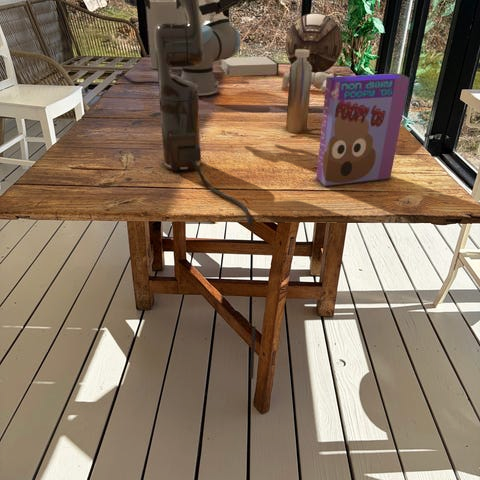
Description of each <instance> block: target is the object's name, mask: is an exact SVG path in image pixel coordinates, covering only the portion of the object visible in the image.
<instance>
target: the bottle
mask: <svg viewBox="0 0 480 480" xmlns="http://www.w3.org/2000/svg"><path fill="white" fill-rule="evenodd" d="M306 60H307V57H297V60H296V61H295V62H294V63H293V64H290V66H289V73H290V74H289V84H288V91H287V106H286V123H285V130H286V132H288V133H293V134H302V133H306V132H307V130H308V121H309V110H310V98H311V88H312V87H311V86H312V85H311V77H312V66H311V65H310V64H309V63H308V61H306Z"/></svg>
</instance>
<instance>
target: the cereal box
mask: <svg viewBox="0 0 480 480" xmlns="http://www.w3.org/2000/svg"><path fill="white" fill-rule="evenodd" d="M340 76H341V77H337V76H334V77H327V80H326V90H325V92H324V100H323V108H322V109H323V110H322V120H321V129H320V130H321V132H320V139H319V140H320V141H319V147H318V148H319V149H318V156H317V157H318V158H317V167H316V176H315V178H316V180H317V181H318V182H319V183H320V184H321V185H322V186H324V187H333V186H340V185H349V184H359V183H367V182H376V181H383V180H390V179H391V178H392V172H393V166H394V163H395V162H394V161H395V156H396V150H397V145H398V140H399V135H400V130H401V125H402V119H403V114H404V108H405V105H406V104H405V103H406V99H407V93H408V88H409V83H410V77H409V76H407V75H405V74H402V73H381V74H380V73H379V74H378V73H377V74H360V75H344V76H343V75H340Z"/></svg>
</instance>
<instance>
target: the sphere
mask: <svg viewBox="0 0 480 480" xmlns="http://www.w3.org/2000/svg"><path fill="white" fill-rule="evenodd" d="M341 30H342V29H341V28H340V26H339V25H338V23H337V22H336V21H335V20H334V19H333V18H332V17H330V16H329V15H327V14H325V13H320V12H312V13H311V12H309V13H307V14H304V15H302V16H300V17H298V19H296V20H295V21H294V22H292V24H291V26H290V27H289V29H288V31H287V34H286V36H285V41H284V42H285V43H284V49H285V54H286V57H287V60H288V62H289V63H290V65H292V64H293V63H294V62H295V61H296V60H297V57H296V56H295V50H297V49H306V50H309V57H307V60H306V61H308V63H309V64H310V65H311V66H312V73H313V72H314V73H317V72H324V73H326V72H327V71H328V70H330V69H331V68H332V67H333V66H335V64H336V63H337V61H338V60H339V58H340V56H341V54H342V51H343V44H344V39H343V33H342V31H341Z"/></svg>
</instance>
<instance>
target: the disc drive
mask: <svg viewBox="0 0 480 480" xmlns="http://www.w3.org/2000/svg"><path fill="white" fill-rule="evenodd" d="M220 62H221V64H220V65H221V67H220V68H221V69H222V71H224V73H225V74H226V75H227V76H228V77H243V76H244V77H245V76H270V75H271V76H272V75H275V76H279V68H280V67H279V65H280V63H278V62H277V61H276V60H275V59H273V58H271V56H268V55H266V56H244V57H243V56H242V57H241V56H239V57H230V58H228V59H225V60H224V59H222V60H220Z"/></svg>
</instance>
